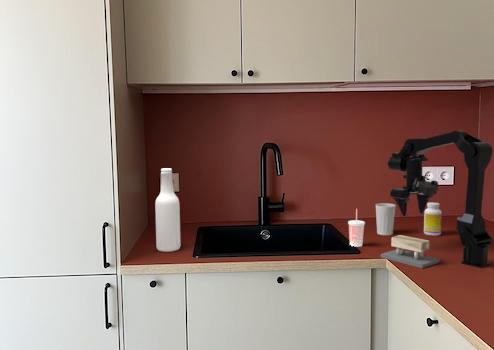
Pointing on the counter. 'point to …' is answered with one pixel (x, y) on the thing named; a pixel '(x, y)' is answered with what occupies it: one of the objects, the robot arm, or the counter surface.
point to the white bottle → (167, 215)
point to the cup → (385, 218)
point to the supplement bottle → (432, 219)
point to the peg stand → (410, 258)
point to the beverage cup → (356, 232)
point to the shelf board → (410, 243)
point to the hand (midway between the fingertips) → (412, 214)
